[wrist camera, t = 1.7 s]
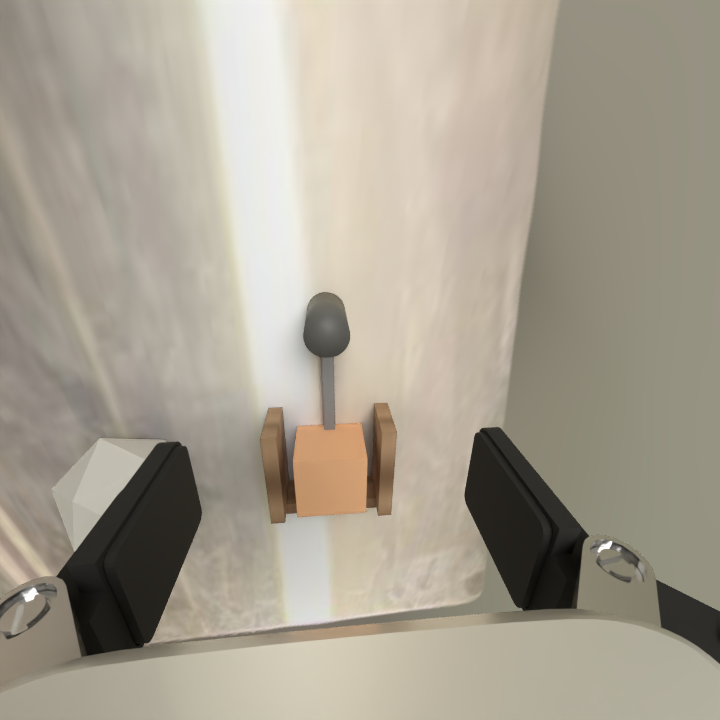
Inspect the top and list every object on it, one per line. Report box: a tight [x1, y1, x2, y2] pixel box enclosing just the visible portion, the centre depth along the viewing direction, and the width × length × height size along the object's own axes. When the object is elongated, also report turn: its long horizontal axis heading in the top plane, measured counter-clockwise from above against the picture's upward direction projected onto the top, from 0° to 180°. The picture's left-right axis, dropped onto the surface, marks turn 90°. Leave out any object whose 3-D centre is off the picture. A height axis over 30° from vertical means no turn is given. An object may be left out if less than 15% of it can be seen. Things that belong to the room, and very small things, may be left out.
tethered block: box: [293, 292, 368, 517], centre depth 28 cm, size 18×6×6 cm, turn 0°
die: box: [51, 438, 167, 552], centre depth 28 cm, size 8×9×10 cm
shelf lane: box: [260, 403, 397, 524], centre depth 31 cm, size 10×11×4 cm
